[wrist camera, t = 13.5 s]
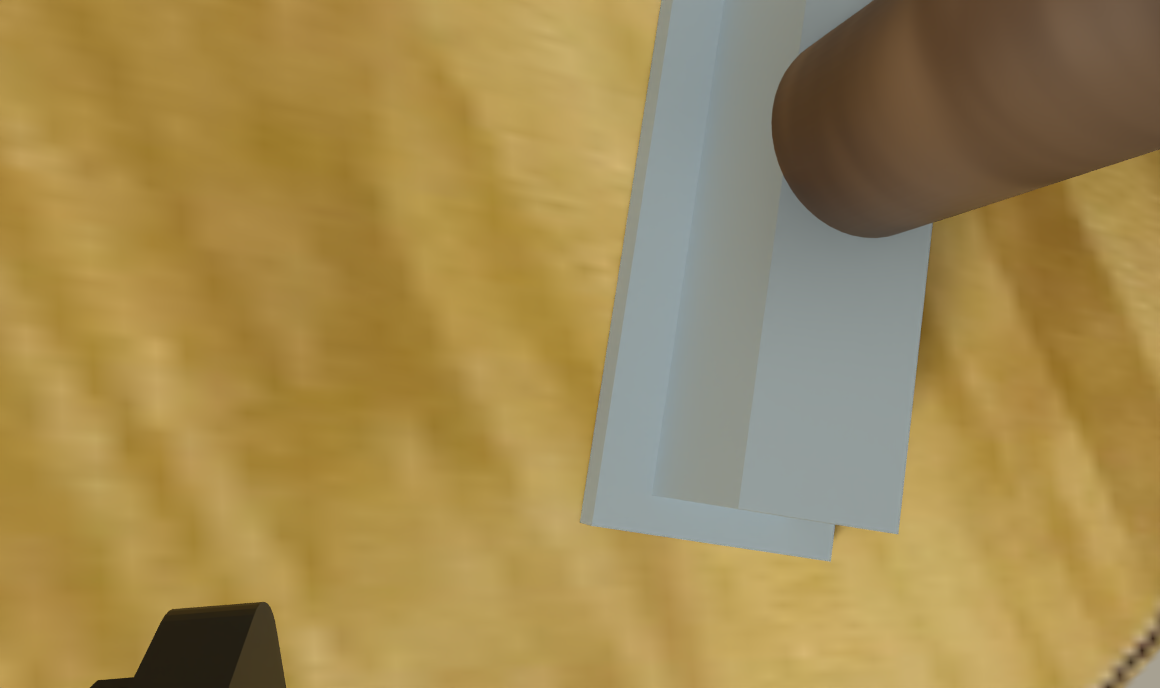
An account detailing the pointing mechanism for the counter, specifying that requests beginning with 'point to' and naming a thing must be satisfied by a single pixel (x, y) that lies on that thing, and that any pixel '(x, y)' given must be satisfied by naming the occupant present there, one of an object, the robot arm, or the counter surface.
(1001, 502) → the counter surface
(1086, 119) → the pepper mill
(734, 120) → the rail
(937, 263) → the counter surface
